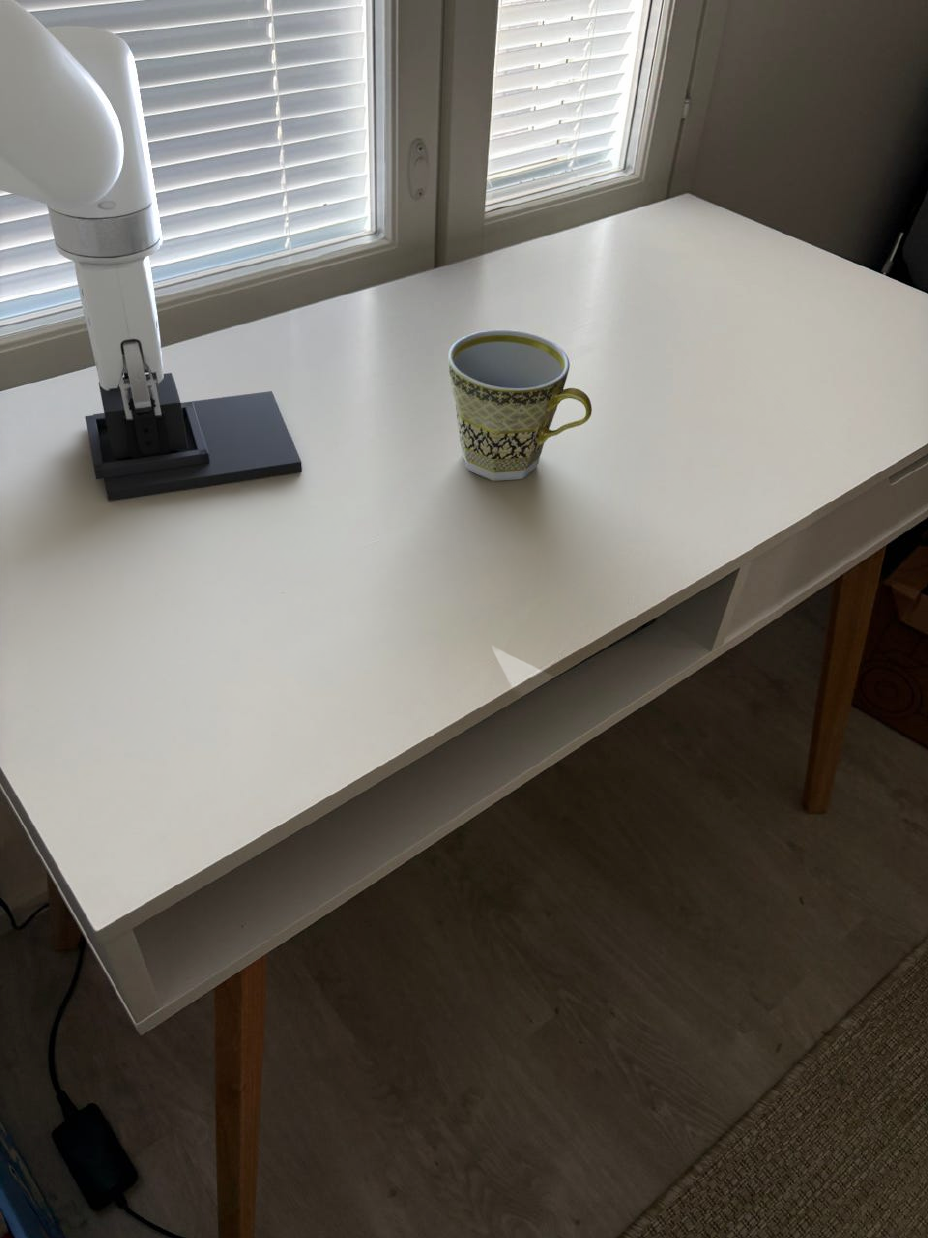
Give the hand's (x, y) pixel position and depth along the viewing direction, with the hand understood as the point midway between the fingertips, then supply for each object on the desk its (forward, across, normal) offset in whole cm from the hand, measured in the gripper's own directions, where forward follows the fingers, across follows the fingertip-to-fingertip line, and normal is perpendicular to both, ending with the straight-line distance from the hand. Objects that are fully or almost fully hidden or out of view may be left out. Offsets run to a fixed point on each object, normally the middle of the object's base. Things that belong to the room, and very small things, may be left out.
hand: (146, 434), depth 86 cm
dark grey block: (0, 0, 0) cm, 0 cm away
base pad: (+2, 0, +4) cm, 4 cm away
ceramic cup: (+2, +10, +30) cm, 32 cm away
